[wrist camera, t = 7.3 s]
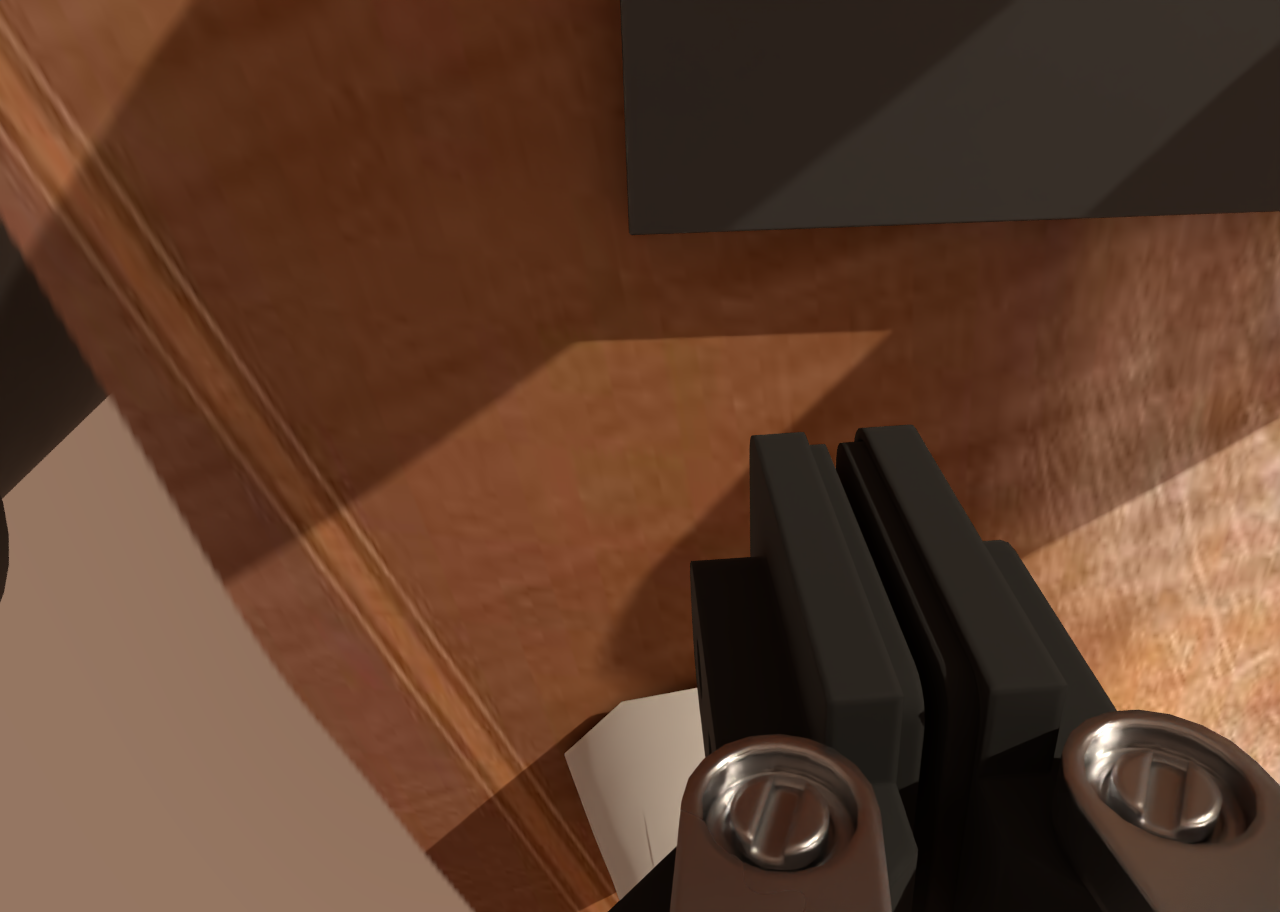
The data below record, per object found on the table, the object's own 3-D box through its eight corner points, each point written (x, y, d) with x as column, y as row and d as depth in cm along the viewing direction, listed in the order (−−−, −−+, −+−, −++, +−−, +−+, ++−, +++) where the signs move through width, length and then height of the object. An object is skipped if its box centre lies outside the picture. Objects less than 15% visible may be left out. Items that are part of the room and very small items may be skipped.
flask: (829, 790, 33) (905, 1111, 24) (642, 868, 35) (650, 1195, 26) (723, 647, 30) (766, 956, 21) (525, 741, 32) (488, 1062, 23)
